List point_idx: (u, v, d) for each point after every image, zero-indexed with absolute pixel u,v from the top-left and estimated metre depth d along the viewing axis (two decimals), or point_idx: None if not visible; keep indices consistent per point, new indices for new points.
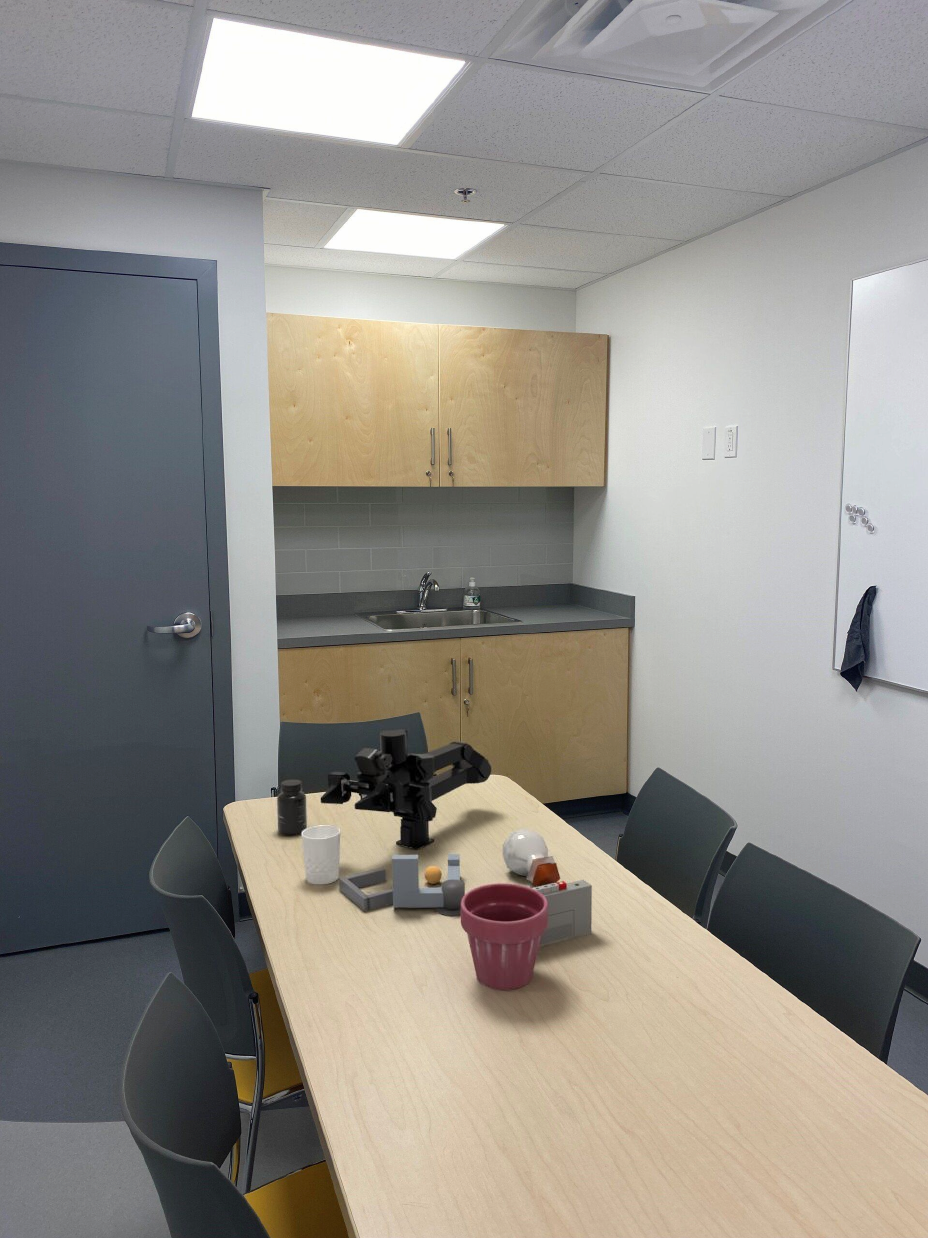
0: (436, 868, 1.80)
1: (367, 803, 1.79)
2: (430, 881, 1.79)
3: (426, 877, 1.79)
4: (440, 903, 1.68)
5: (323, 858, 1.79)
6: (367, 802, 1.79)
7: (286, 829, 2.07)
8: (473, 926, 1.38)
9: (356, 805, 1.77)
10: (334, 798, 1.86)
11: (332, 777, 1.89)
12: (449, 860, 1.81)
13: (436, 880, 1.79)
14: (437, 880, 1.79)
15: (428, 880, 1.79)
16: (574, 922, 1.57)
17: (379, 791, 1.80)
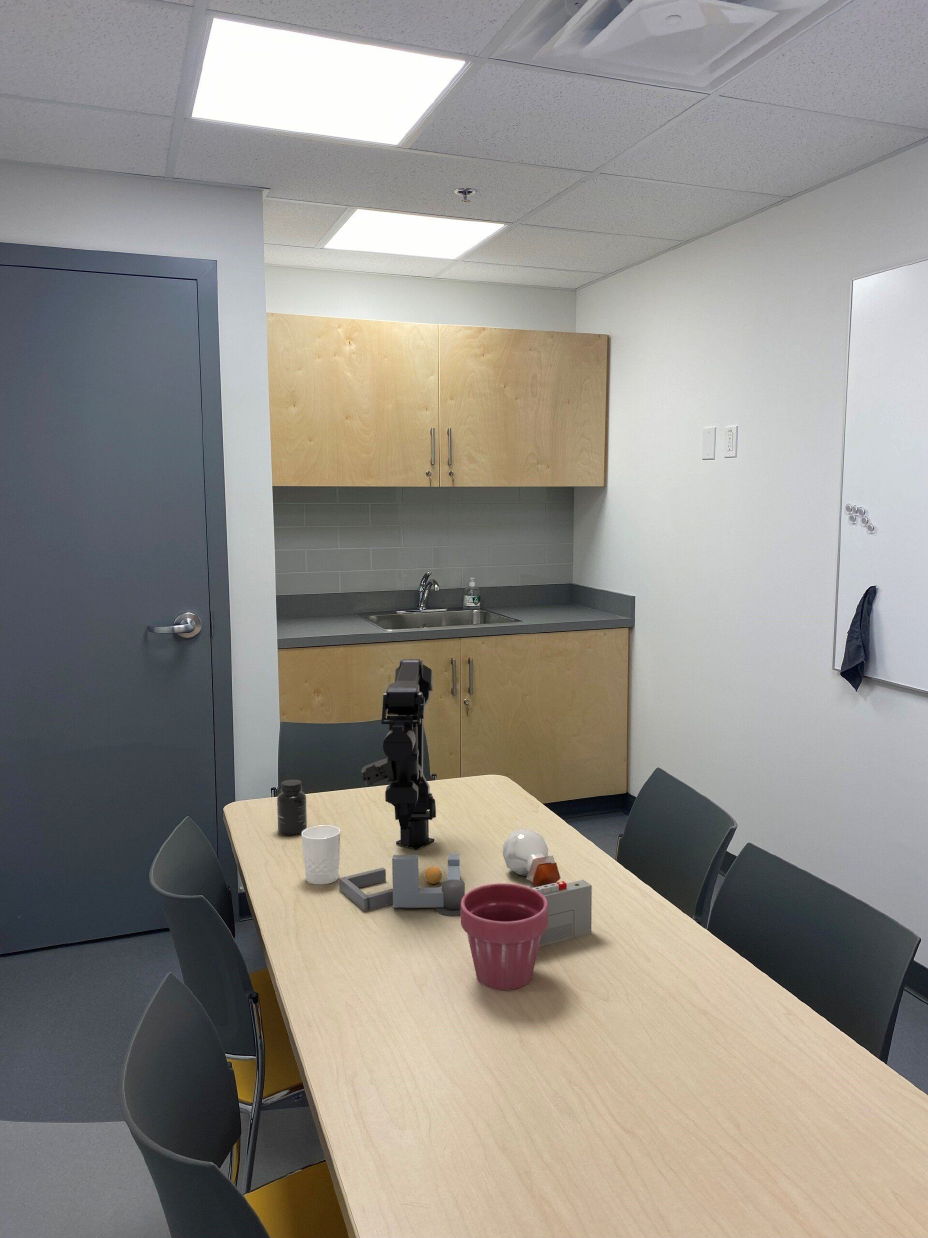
0: (436, 868, 1.80)
1: (403, 818, 1.76)
2: (430, 881, 1.79)
3: (426, 877, 1.79)
4: (440, 903, 1.68)
5: (323, 858, 1.79)
6: (402, 817, 1.76)
7: (286, 829, 2.07)
8: (473, 926, 1.38)
9: (402, 829, 1.77)
10: None
11: None
12: (449, 860, 1.81)
13: (436, 880, 1.79)
14: (437, 880, 1.79)
15: (428, 880, 1.79)
16: (574, 922, 1.57)
17: (393, 805, 1.75)
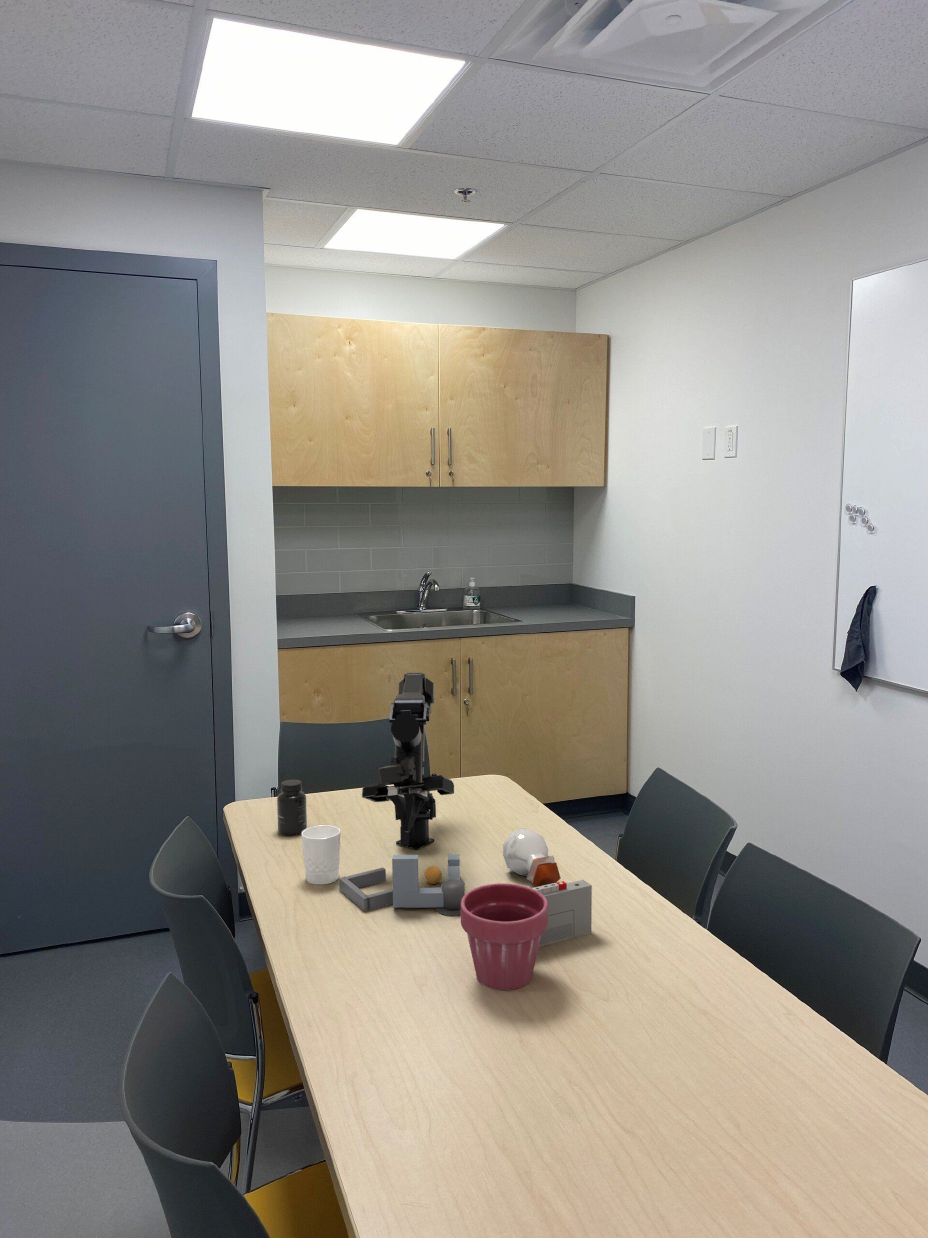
0: (436, 868, 1.80)
1: (412, 818, 1.79)
2: (430, 881, 1.79)
3: (426, 877, 1.79)
4: (440, 903, 1.68)
5: (323, 858, 1.79)
6: (411, 817, 1.79)
7: (286, 829, 2.07)
8: (473, 926, 1.38)
9: (407, 830, 1.78)
10: None
11: (389, 798, 1.80)
12: (449, 860, 1.81)
13: (436, 880, 1.79)
14: (437, 880, 1.79)
15: (428, 880, 1.79)
16: (574, 922, 1.57)
17: (412, 801, 1.78)
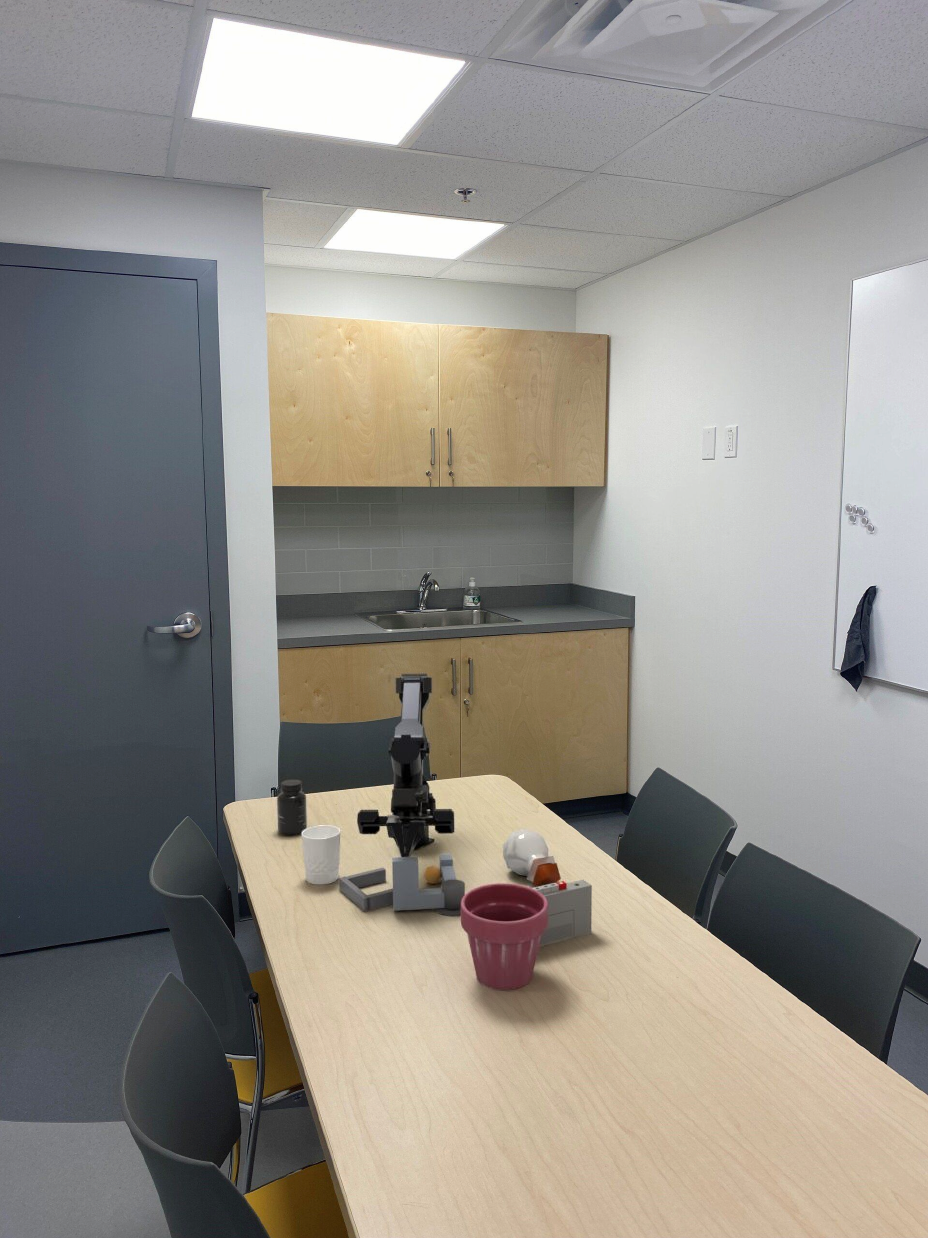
0: (436, 868, 1.80)
1: (411, 850, 1.70)
2: (429, 881, 1.79)
3: (425, 877, 1.79)
4: (441, 904, 1.68)
5: (323, 858, 1.79)
6: (410, 849, 1.70)
7: (286, 829, 2.07)
8: (473, 926, 1.38)
9: None
10: None
11: (390, 825, 1.70)
12: (442, 860, 1.80)
13: (435, 880, 1.79)
14: (436, 880, 1.79)
15: (427, 880, 1.79)
16: (574, 922, 1.57)
17: (416, 832, 1.70)
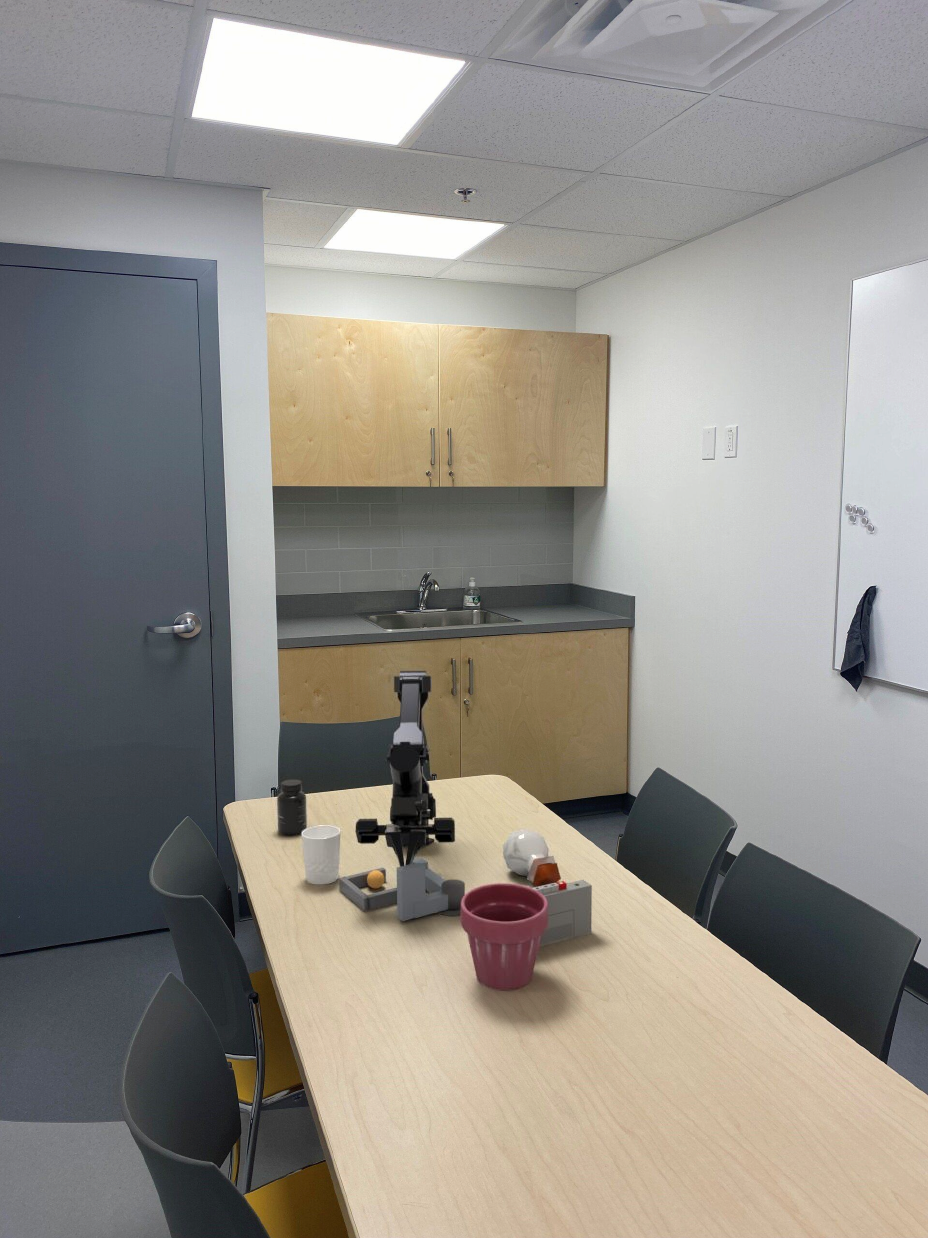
0: (376, 872, 1.78)
1: (411, 860, 1.66)
2: (373, 886, 1.77)
3: (369, 884, 1.77)
4: (445, 905, 1.67)
5: (323, 858, 1.79)
6: (411, 859, 1.66)
7: (286, 829, 2.07)
8: (473, 926, 1.38)
9: None
10: None
11: (389, 834, 1.66)
12: None
13: (379, 884, 1.77)
14: (380, 884, 1.77)
15: (371, 886, 1.77)
16: (574, 922, 1.57)
17: (416, 841, 1.67)
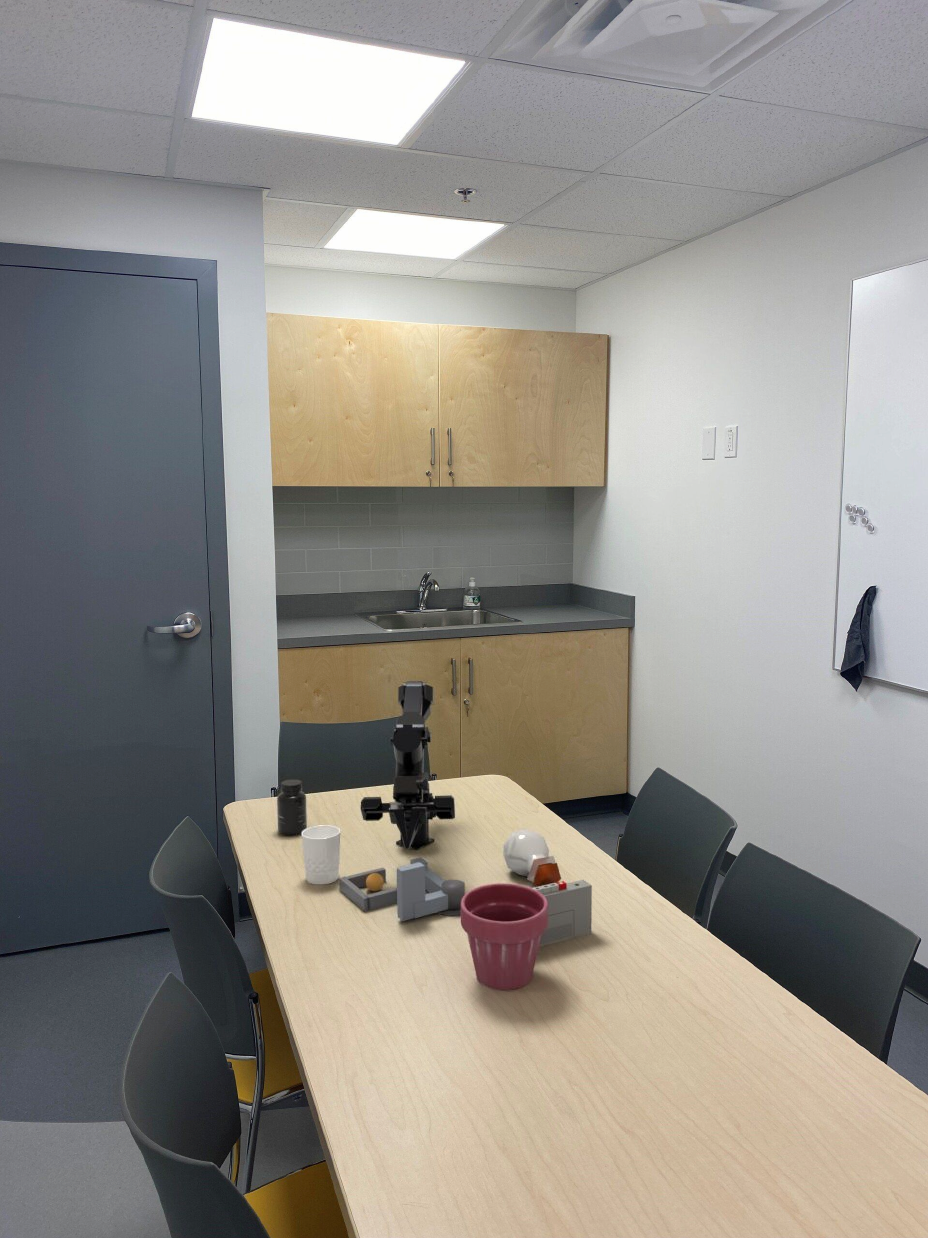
0: (375, 880, 1.76)
1: (413, 835, 1.76)
2: None
3: (368, 888, 1.77)
4: (445, 905, 1.67)
5: (323, 858, 1.79)
6: (412, 834, 1.76)
7: (286, 829, 2.07)
8: (473, 926, 1.38)
9: (409, 846, 1.74)
10: (406, 830, 1.77)
11: (393, 811, 1.76)
12: None
13: (378, 889, 1.77)
14: None
15: None
16: (574, 922, 1.57)
17: (417, 818, 1.76)
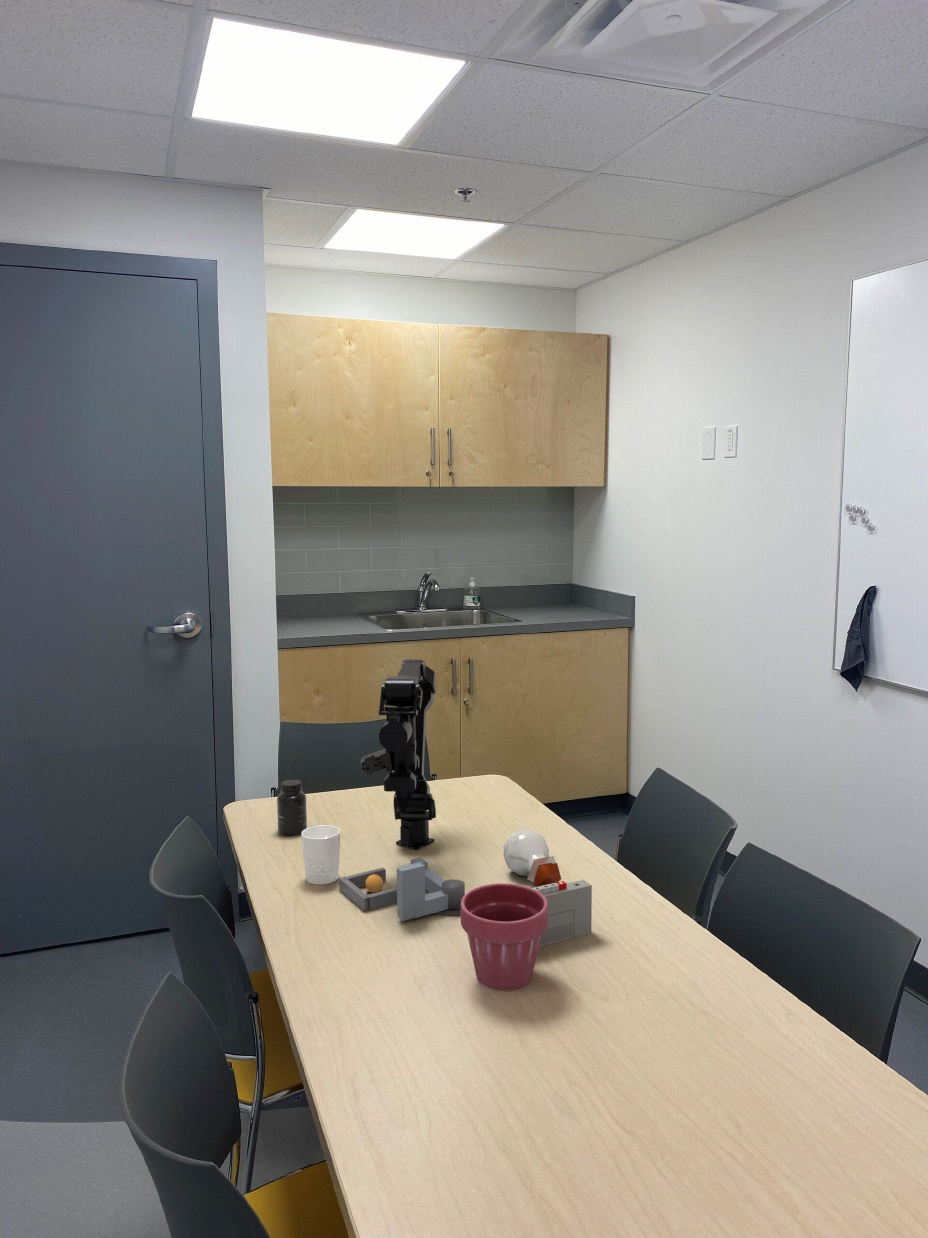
0: (374, 885, 1.75)
1: (402, 801, 1.83)
2: None
3: None
4: (445, 905, 1.67)
5: (323, 858, 1.79)
6: (401, 800, 1.84)
7: (286, 829, 2.07)
8: (473, 926, 1.38)
9: (401, 811, 1.85)
10: None
11: None
12: None
13: None
14: None
15: None
16: (574, 922, 1.57)
17: None
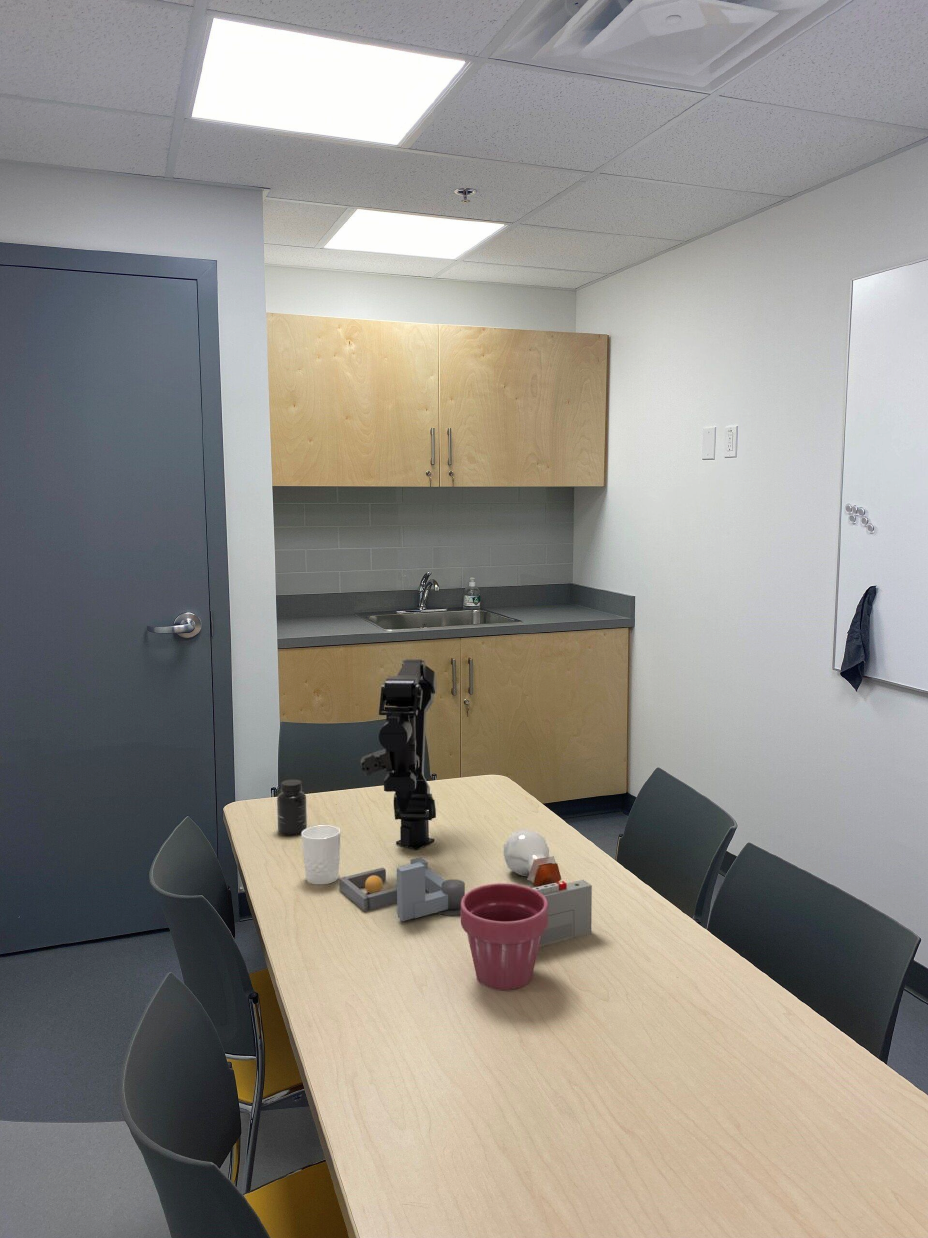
0: (374, 888, 1.74)
1: (402, 801, 1.83)
2: None
3: None
4: (445, 905, 1.67)
5: (323, 858, 1.79)
6: (401, 800, 1.84)
7: (286, 829, 2.07)
8: (473, 926, 1.38)
9: (401, 811, 1.85)
10: None
11: None
12: None
13: None
14: None
15: None
16: (574, 922, 1.57)
17: None
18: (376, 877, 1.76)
